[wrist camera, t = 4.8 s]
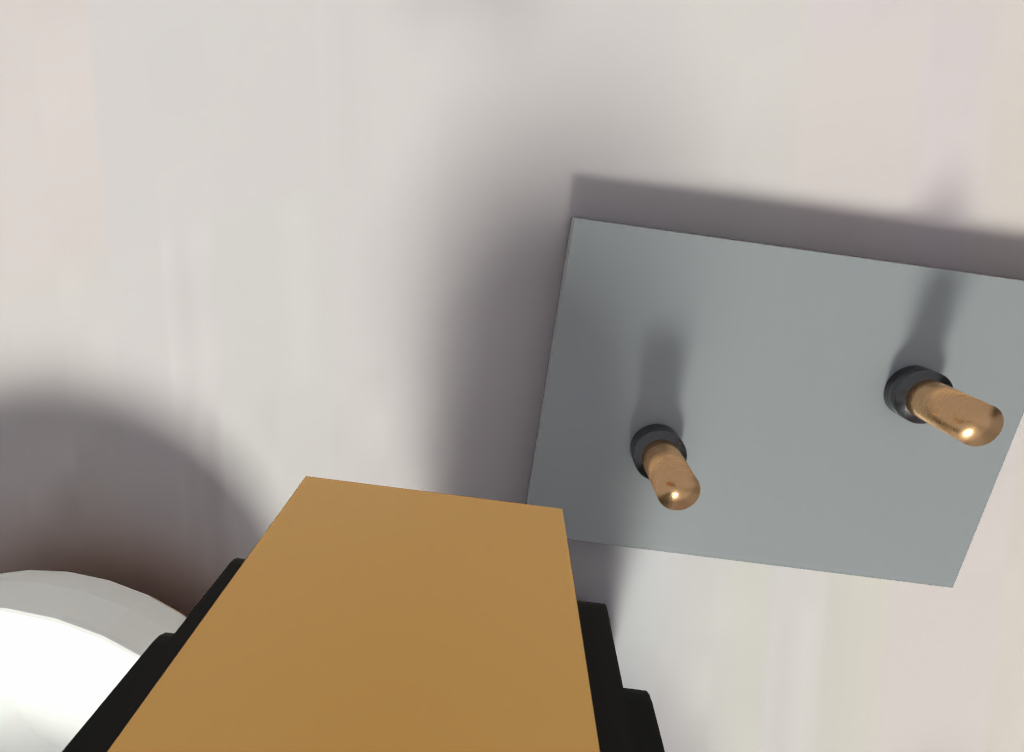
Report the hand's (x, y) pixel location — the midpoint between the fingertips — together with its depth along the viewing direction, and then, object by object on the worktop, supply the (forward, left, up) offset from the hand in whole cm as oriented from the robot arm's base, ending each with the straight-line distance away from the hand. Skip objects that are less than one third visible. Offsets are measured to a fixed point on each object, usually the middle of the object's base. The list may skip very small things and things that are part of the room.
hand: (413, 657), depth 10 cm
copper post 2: (-18, -2, -17) cm, 25 cm away
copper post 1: (-8, +2, -17) cm, 19 cm away
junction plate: (-13, 0, -17) cm, 21 cm away
